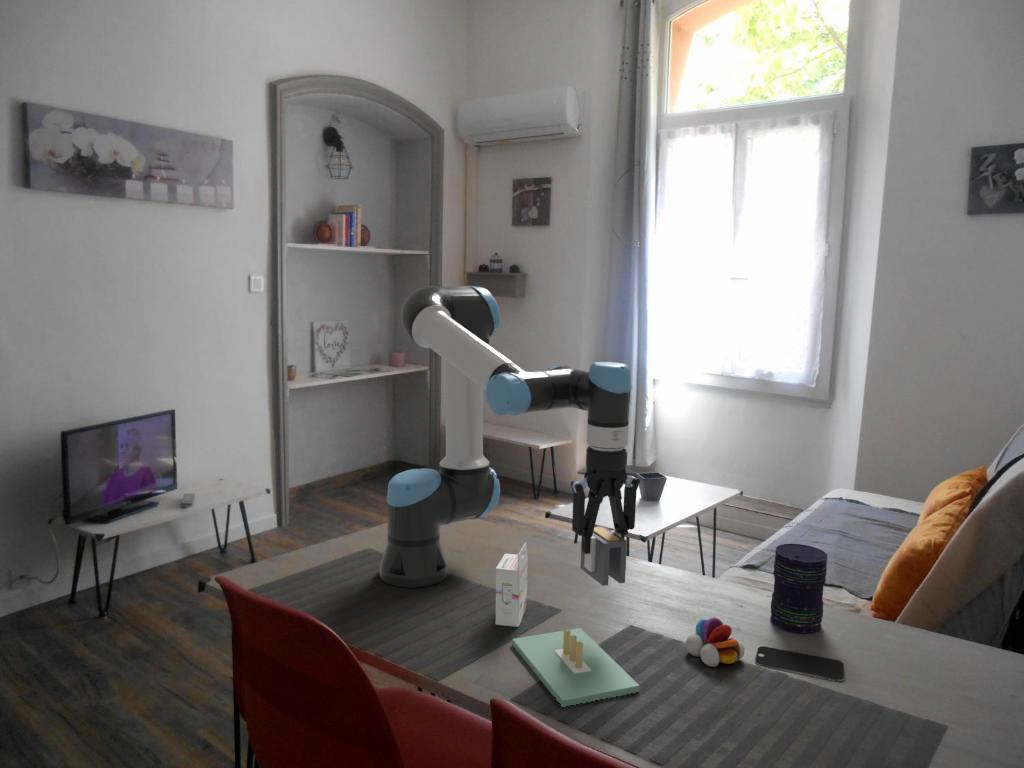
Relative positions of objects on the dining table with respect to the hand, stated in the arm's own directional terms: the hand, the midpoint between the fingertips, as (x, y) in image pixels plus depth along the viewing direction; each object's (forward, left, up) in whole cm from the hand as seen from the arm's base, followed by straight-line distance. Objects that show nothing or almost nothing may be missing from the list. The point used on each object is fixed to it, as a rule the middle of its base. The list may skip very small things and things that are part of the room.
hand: (601, 567), depth 147 cm
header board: (+9, -10, -14) cm, 19 cm away
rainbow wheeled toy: (+14, +16, -14) cm, 26 cm away
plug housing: (0, 0, -2) cm, 2 cm away
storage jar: (+8, +40, -14) cm, 43 cm away
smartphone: (+21, +29, -14) cm, 39 cm away
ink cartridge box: (-13, -13, -14) cm, 23 cm away
